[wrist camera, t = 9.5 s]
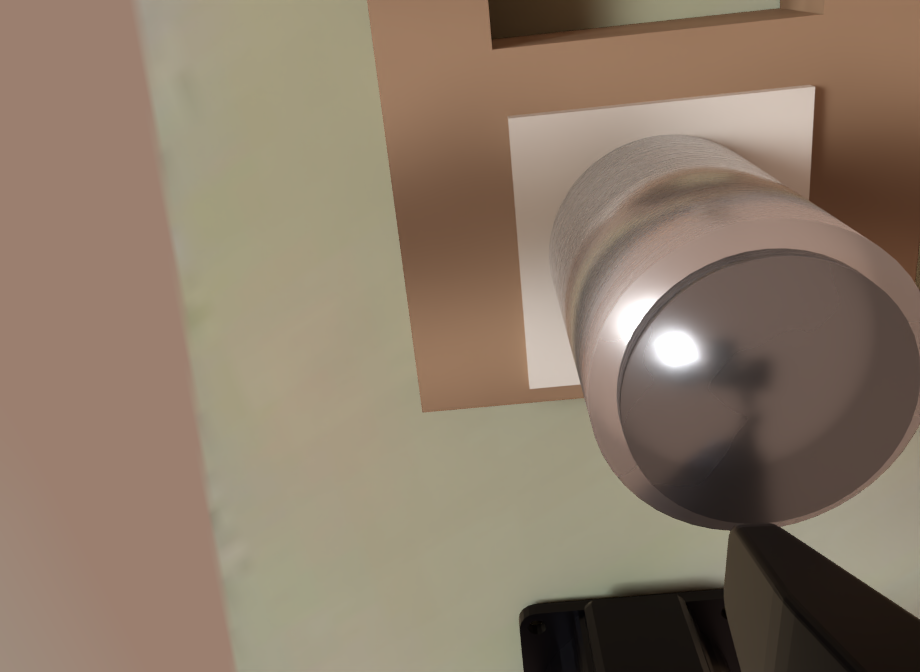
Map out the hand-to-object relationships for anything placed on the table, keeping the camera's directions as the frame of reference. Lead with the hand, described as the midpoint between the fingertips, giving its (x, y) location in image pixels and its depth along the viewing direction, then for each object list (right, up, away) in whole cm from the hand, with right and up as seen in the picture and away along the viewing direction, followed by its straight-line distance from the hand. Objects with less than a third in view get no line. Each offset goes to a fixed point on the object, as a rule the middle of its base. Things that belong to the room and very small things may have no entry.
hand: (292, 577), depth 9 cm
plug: (+6, +4, +9) cm, 12 cm away
